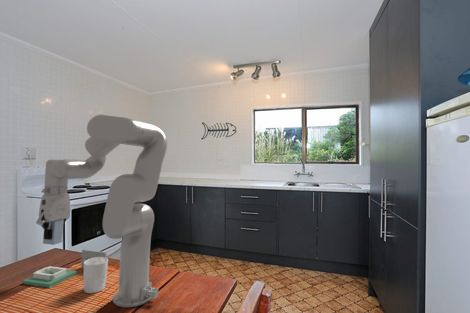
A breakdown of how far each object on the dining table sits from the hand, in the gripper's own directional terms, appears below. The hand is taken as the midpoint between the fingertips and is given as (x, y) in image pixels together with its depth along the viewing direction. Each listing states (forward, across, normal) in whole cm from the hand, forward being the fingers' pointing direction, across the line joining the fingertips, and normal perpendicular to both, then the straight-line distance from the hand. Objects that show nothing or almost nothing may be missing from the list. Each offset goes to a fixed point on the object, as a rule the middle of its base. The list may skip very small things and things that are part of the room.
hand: (52, 237), depth 98 cm
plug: (+2, 0, 0) cm, 2 cm away
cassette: (+16, +12, -9) cm, 22 cm away
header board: (+16, 0, 0) cm, 16 cm away
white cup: (+16, -3, -22) cm, 28 cm away
